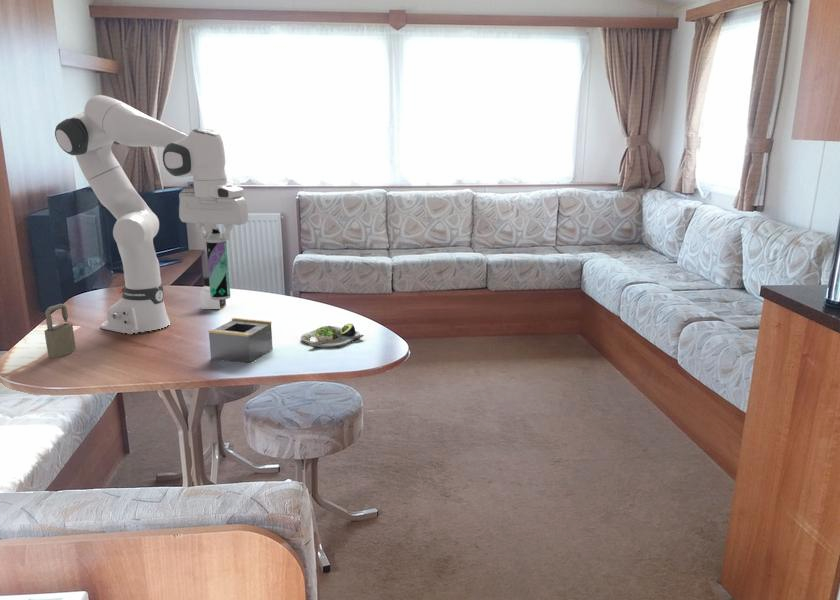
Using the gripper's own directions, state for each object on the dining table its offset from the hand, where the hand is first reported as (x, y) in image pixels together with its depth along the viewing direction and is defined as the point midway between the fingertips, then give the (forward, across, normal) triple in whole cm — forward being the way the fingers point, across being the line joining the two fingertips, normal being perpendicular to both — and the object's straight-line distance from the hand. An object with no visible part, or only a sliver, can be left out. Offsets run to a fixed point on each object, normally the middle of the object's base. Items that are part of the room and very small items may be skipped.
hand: (215, 239), depth 187 cm
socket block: (+36, +3, +4) cm, 36 cm away
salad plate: (+36, +23, +25) cm, 50 cm away
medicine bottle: (+36, -35, +46) cm, 67 cm away
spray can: (+17, 0, 0) cm, 17 cm away
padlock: (+35, -49, -12) cm, 61 cm away
